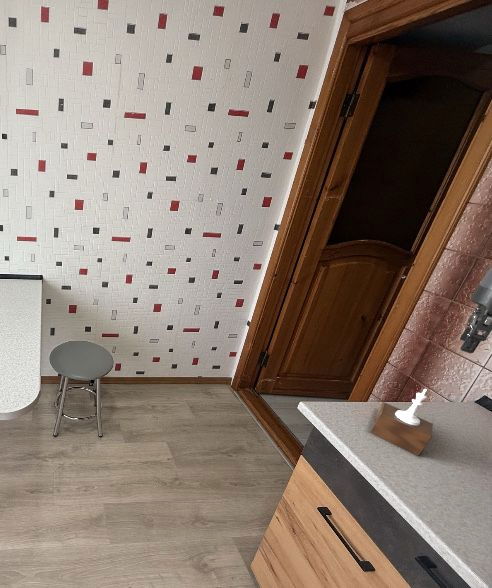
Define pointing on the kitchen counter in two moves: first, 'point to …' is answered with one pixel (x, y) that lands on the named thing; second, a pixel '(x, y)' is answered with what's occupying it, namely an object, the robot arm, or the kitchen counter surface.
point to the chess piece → (412, 410)
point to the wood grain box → (401, 430)
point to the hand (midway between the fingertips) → (465, 346)
